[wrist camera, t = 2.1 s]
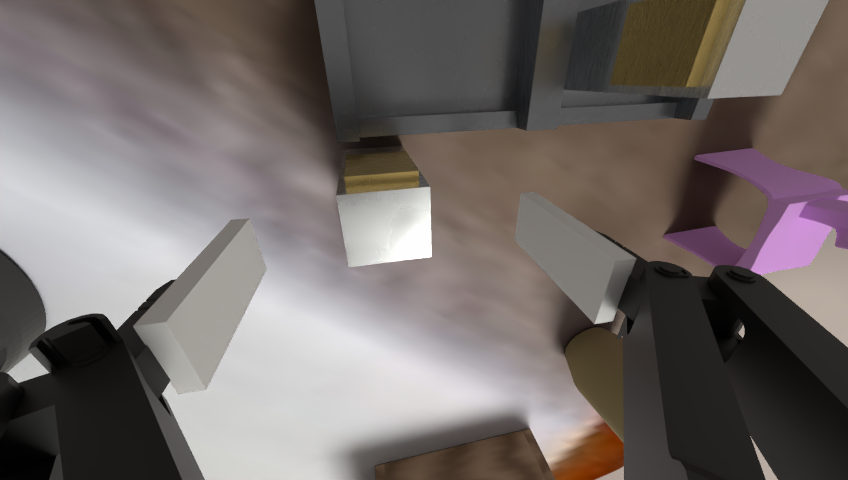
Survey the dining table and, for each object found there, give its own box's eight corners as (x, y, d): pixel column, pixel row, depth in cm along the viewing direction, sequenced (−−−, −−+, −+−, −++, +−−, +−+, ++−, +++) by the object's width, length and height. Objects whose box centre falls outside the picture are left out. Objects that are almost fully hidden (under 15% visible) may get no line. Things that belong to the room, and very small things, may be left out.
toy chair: (652, 243, 30) (872, 366, 17) (684, 156, 26) (1009, 235, 13) (720, 231, 31) (972, 339, 19) (761, 146, 27) (1128, 210, 14)
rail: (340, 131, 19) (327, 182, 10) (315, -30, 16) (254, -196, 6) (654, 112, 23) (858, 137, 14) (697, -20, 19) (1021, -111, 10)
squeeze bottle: (588, 370, 39) (742, 562, 24) (542, 362, 36) (683, 575, 21) (629, 325, 36) (835, 511, 21) (582, 312, 33) (781, 518, 18)
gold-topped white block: (407, 240, 24) (432, 316, 17) (358, 246, 24) (359, 328, 16) (401, 136, 20) (429, 173, 13) (342, 140, 20) (333, 181, 12)
